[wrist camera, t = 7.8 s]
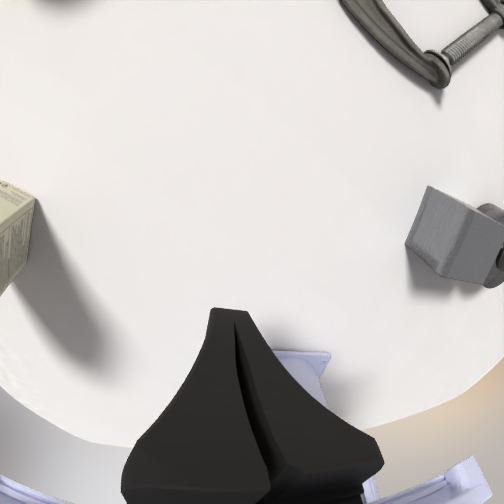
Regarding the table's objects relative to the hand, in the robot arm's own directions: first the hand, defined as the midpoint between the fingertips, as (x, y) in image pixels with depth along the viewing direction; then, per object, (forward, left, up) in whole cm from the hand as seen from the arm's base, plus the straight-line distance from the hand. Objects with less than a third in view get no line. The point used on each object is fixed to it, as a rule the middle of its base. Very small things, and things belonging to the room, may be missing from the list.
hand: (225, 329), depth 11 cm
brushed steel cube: (+4, -17, -10) cm, 20 cm away
